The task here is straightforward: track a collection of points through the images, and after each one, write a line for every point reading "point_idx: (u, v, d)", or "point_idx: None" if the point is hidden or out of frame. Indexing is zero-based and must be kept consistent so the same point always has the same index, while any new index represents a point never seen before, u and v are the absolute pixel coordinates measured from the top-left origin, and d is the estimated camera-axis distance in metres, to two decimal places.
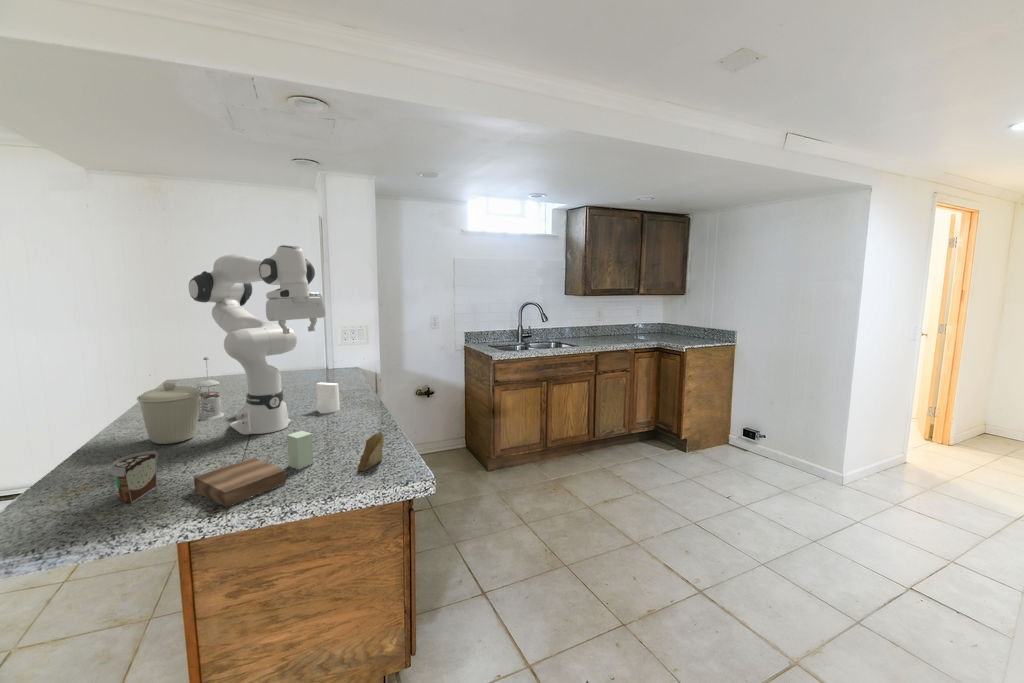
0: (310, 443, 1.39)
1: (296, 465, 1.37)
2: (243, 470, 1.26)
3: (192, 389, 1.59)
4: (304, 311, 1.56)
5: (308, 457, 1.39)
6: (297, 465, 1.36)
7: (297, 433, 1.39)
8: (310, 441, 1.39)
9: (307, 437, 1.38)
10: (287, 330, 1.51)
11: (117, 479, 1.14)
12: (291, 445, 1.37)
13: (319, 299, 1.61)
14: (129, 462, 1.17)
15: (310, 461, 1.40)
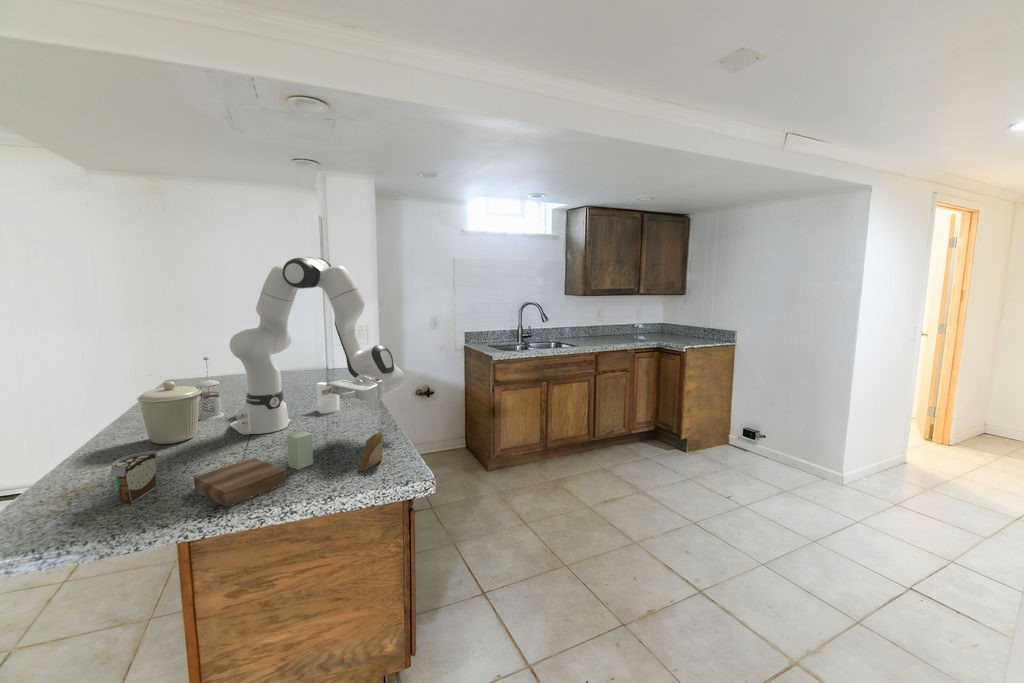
0: (310, 443, 1.39)
1: (296, 465, 1.37)
2: (243, 470, 1.26)
3: (192, 389, 1.59)
4: None
5: (308, 457, 1.39)
6: (297, 465, 1.36)
7: (297, 433, 1.39)
8: (310, 441, 1.39)
9: (307, 437, 1.38)
10: None
11: (117, 479, 1.14)
12: (291, 445, 1.37)
13: None
14: (129, 462, 1.17)
15: (310, 461, 1.40)
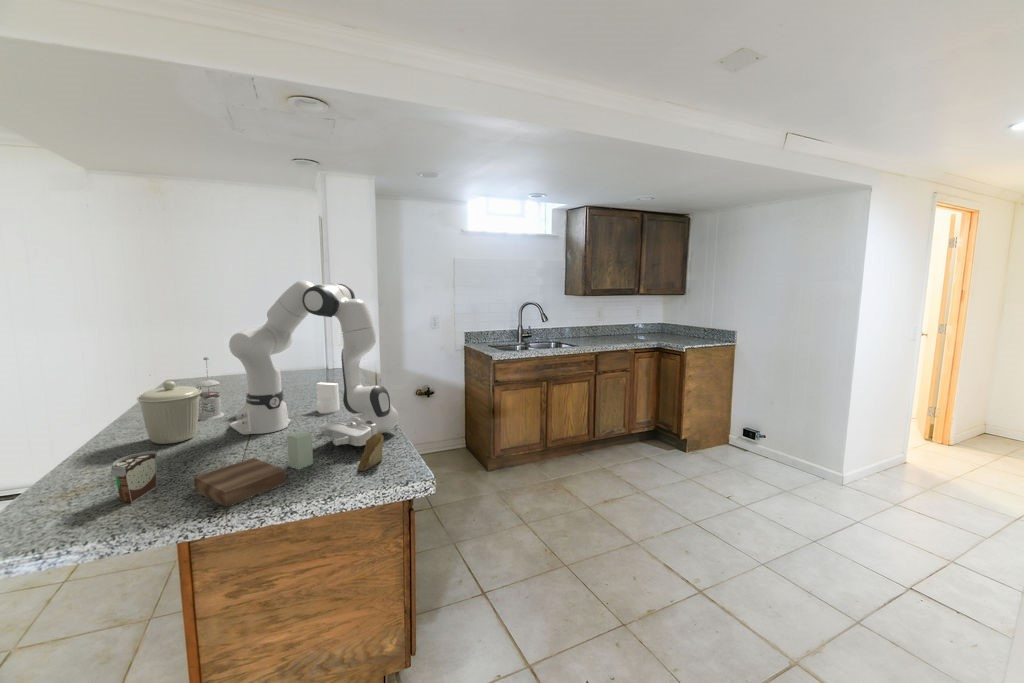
0: (310, 443, 1.39)
1: (296, 465, 1.37)
2: (243, 470, 1.26)
3: (192, 389, 1.59)
4: None
5: (308, 457, 1.39)
6: (297, 465, 1.36)
7: (297, 433, 1.39)
8: (310, 441, 1.39)
9: (307, 437, 1.38)
10: None
11: (117, 479, 1.14)
12: (291, 445, 1.37)
13: None
14: (129, 463, 1.17)
15: (310, 461, 1.40)
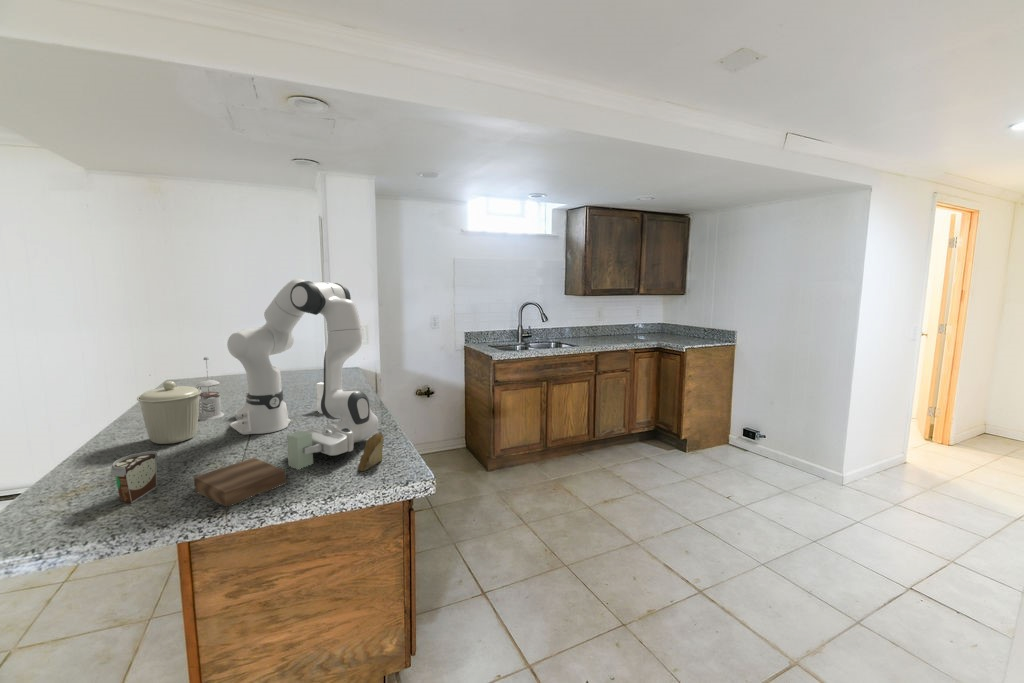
0: (310, 443, 1.39)
1: (296, 465, 1.37)
2: (243, 470, 1.26)
3: (192, 389, 1.59)
4: None
5: (308, 457, 1.39)
6: (297, 465, 1.36)
7: (297, 433, 1.39)
8: (310, 441, 1.39)
9: (307, 437, 1.38)
10: None
11: (117, 479, 1.14)
12: (291, 445, 1.37)
13: None
14: (129, 462, 1.17)
15: (310, 460, 1.40)
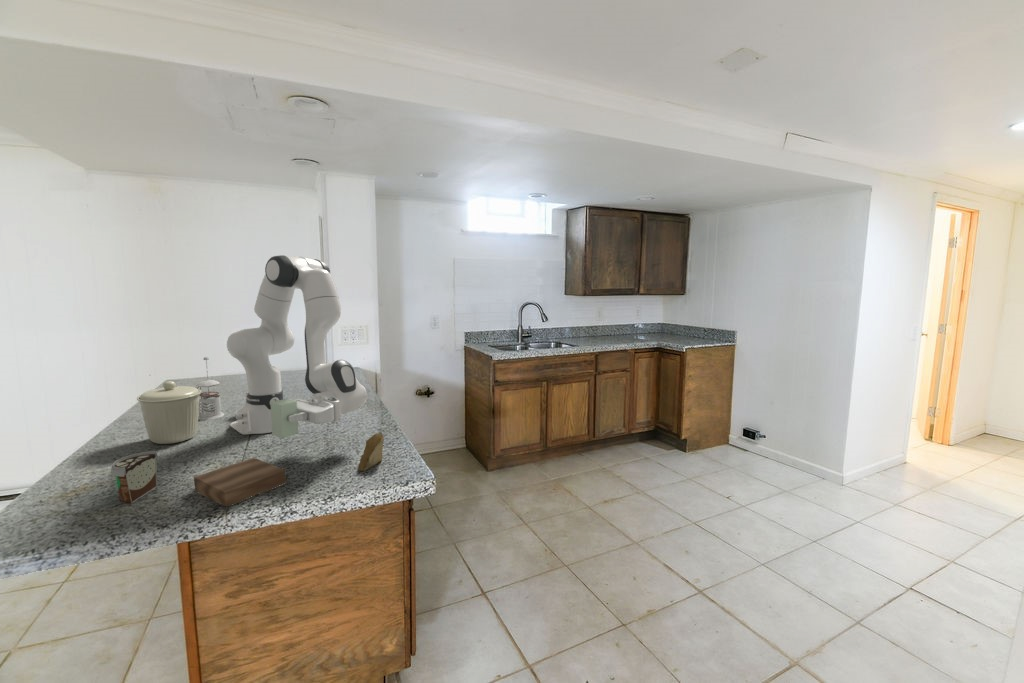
0: (295, 411, 1.34)
1: (280, 433, 1.31)
2: (243, 470, 1.26)
3: (192, 389, 1.59)
4: None
5: (292, 426, 1.33)
6: (281, 433, 1.31)
7: (281, 401, 1.34)
8: (294, 409, 1.33)
9: (292, 404, 1.33)
10: None
11: (117, 479, 1.14)
12: (275, 413, 1.31)
13: None
14: (129, 462, 1.17)
15: (295, 429, 1.34)
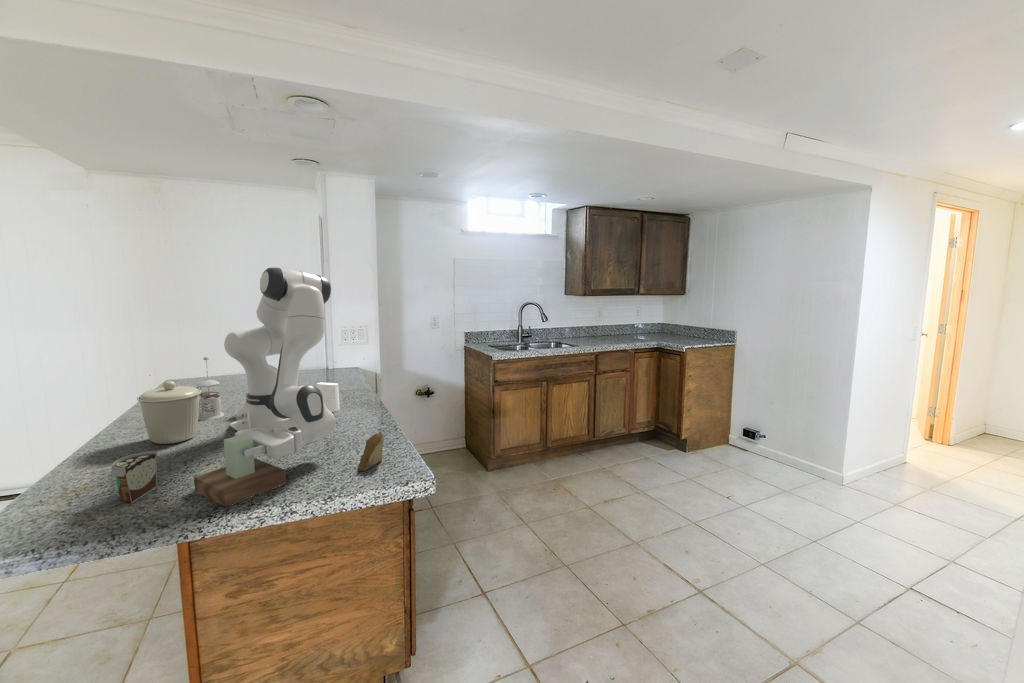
0: None
1: (234, 474, 1.21)
2: None
3: (192, 389, 1.59)
4: None
5: (248, 465, 1.23)
6: (234, 474, 1.21)
7: (236, 437, 1.23)
8: (250, 446, 1.23)
9: (247, 442, 1.22)
10: None
11: (117, 479, 1.14)
12: (228, 451, 1.21)
13: None
14: (129, 462, 1.17)
15: (251, 468, 1.24)
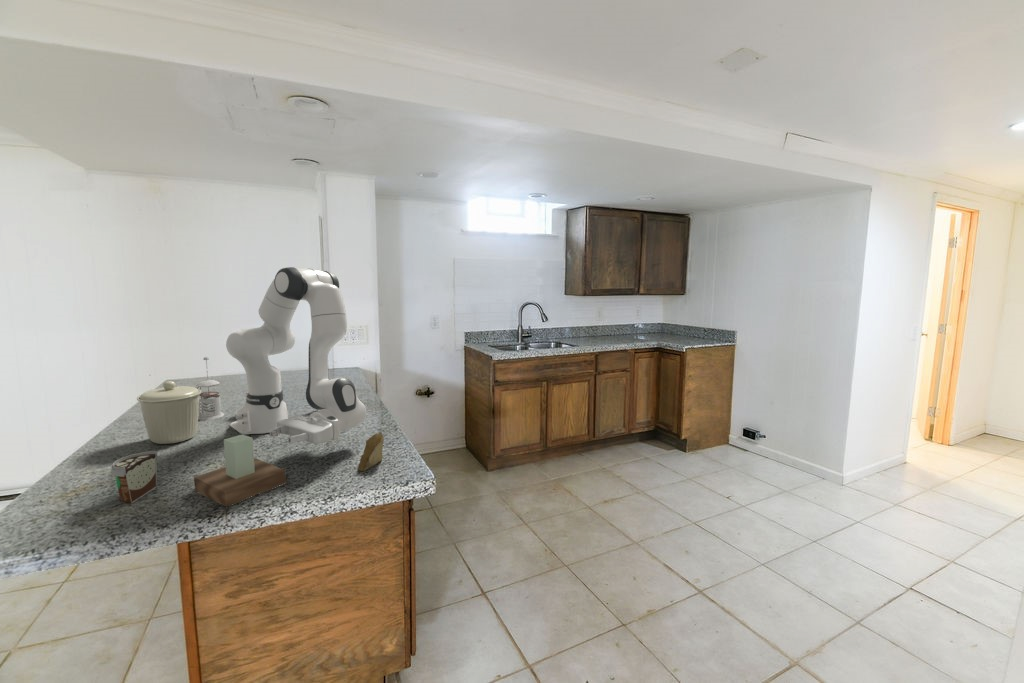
0: (251, 448, 1.23)
1: (234, 474, 1.21)
2: None
3: (192, 389, 1.59)
4: None
5: (248, 465, 1.23)
6: (234, 474, 1.21)
7: (236, 437, 1.23)
8: (250, 446, 1.23)
9: (247, 442, 1.22)
10: None
11: (117, 479, 1.14)
12: (228, 451, 1.21)
13: None
14: (129, 462, 1.17)
15: (251, 468, 1.24)
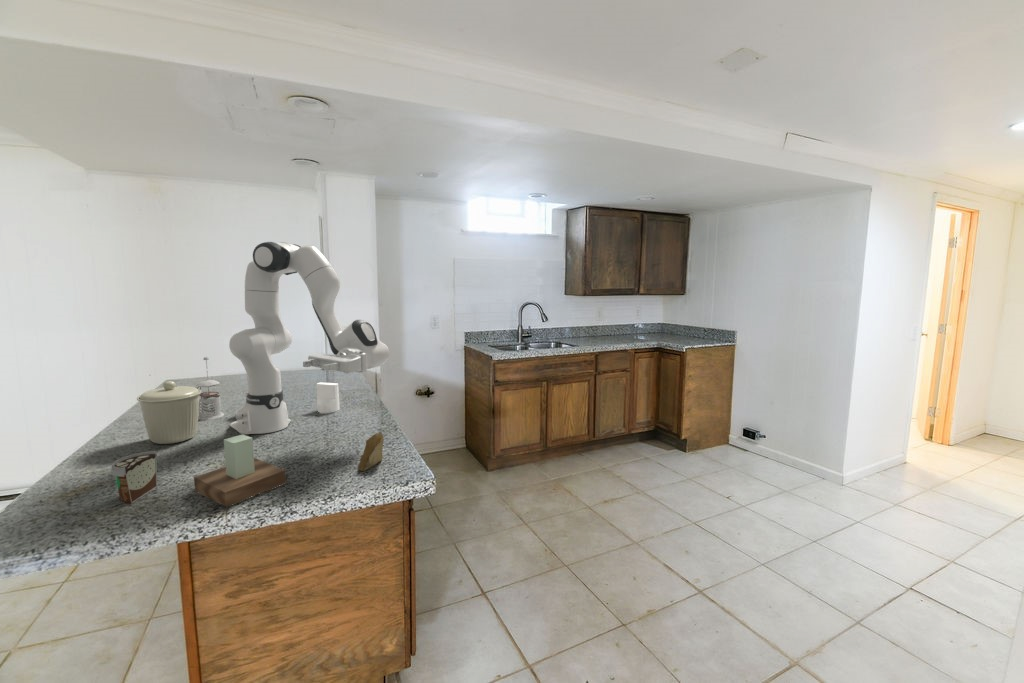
0: (251, 448, 1.23)
1: (234, 474, 1.21)
2: None
3: (192, 389, 1.59)
4: None
5: (248, 465, 1.23)
6: (234, 474, 1.21)
7: (236, 437, 1.23)
8: (250, 446, 1.23)
9: (247, 442, 1.22)
10: None
11: (117, 479, 1.14)
12: (228, 451, 1.21)
13: None
14: (129, 462, 1.17)
15: (251, 468, 1.24)
